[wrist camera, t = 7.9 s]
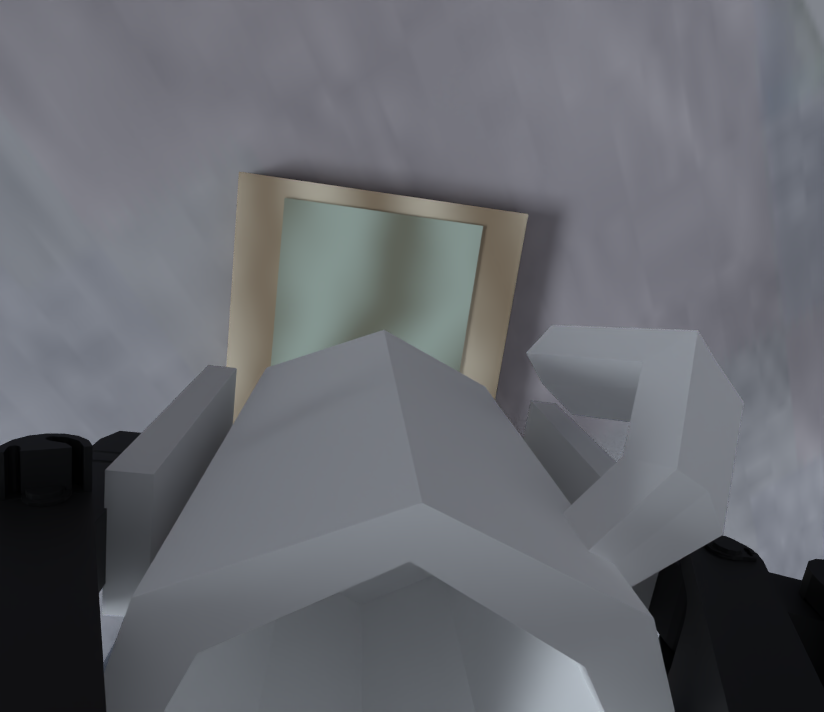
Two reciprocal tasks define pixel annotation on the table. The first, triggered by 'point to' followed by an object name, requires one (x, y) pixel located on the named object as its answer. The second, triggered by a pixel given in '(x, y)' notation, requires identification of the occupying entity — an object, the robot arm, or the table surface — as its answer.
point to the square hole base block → (367, 276)
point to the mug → (432, 538)
